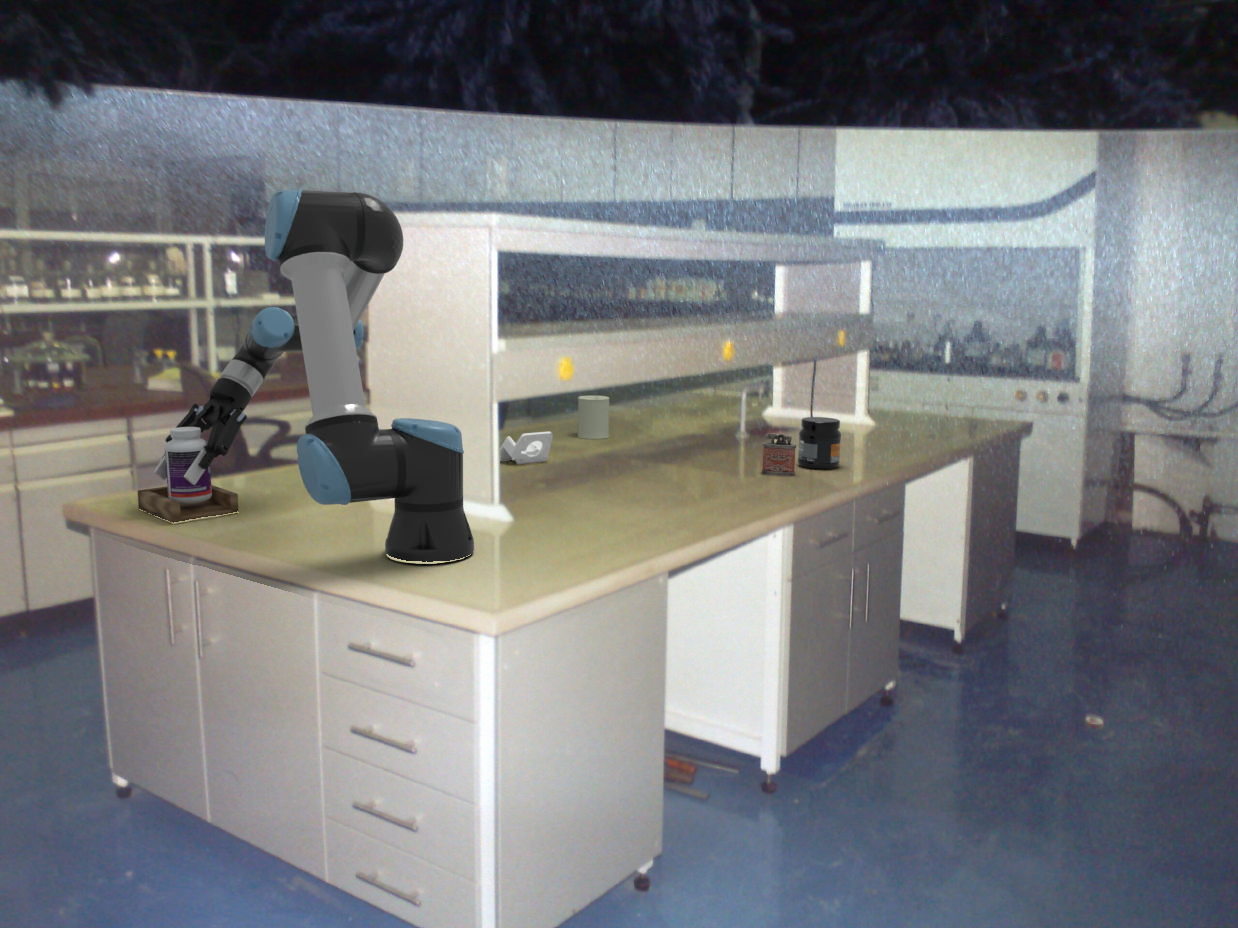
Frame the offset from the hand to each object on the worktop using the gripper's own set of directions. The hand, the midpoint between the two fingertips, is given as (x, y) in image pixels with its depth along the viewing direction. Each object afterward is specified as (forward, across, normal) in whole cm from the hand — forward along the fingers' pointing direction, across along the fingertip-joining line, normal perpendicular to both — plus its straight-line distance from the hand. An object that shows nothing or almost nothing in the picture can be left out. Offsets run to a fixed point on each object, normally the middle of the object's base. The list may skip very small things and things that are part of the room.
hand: (174, 478), depth 202 cm
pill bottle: (+1, 0, -6) cm, 6 cm away
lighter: (-68, -85, -80) cm, 135 cm away
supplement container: (-79, -90, -90) cm, 150 cm away
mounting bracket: (-53, -25, -65) cm, 87 cm away
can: (-85, -20, -96) cm, 129 cm away
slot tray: (+3, +1, -8) cm, 8 cm away
